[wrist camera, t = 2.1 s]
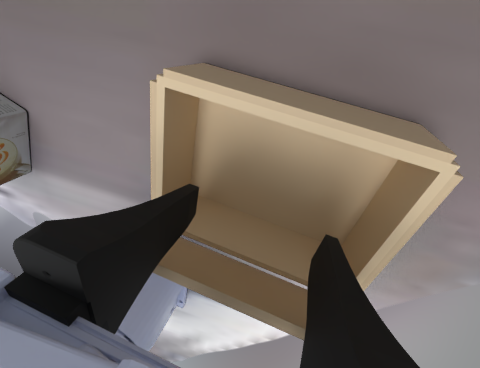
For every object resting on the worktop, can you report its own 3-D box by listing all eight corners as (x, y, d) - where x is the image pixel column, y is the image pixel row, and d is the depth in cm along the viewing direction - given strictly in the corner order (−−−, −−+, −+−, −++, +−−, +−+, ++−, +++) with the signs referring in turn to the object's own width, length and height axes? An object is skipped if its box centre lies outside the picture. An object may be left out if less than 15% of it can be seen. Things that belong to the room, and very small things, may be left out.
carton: (347, 252, 20) (351, 304, 16) (183, 190, 23) (151, 222, 19) (433, 127, 14) (477, 161, 10) (194, 59, 16) (149, 64, 12)
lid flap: (338, 302, 16) (335, 309, 16) (159, 228, 19) (157, 234, 19) (375, 360, 11) (372, 370, 11) (106, 241, 13) (103, 250, 13)
